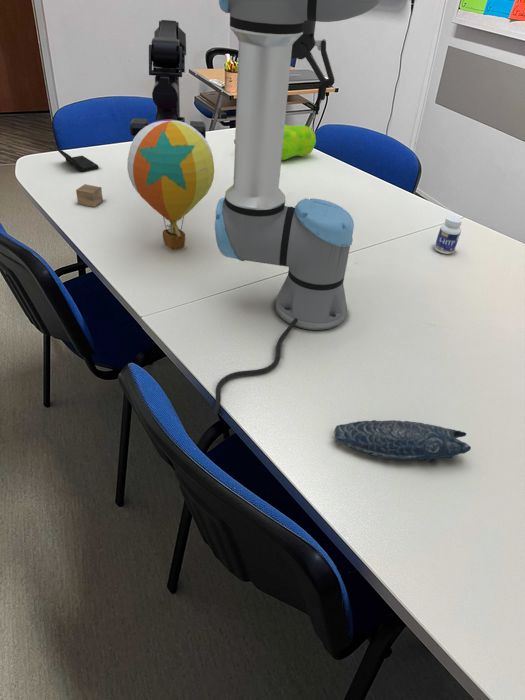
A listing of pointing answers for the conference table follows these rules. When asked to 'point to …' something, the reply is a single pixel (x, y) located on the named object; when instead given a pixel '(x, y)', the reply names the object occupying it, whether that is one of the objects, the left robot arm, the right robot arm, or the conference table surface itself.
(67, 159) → the black flat handled piece
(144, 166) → the toy
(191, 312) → the conference table surface
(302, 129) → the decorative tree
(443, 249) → the pill bottle
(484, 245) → the conference table surface
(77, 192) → the brown cardboard box
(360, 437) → the fish model
